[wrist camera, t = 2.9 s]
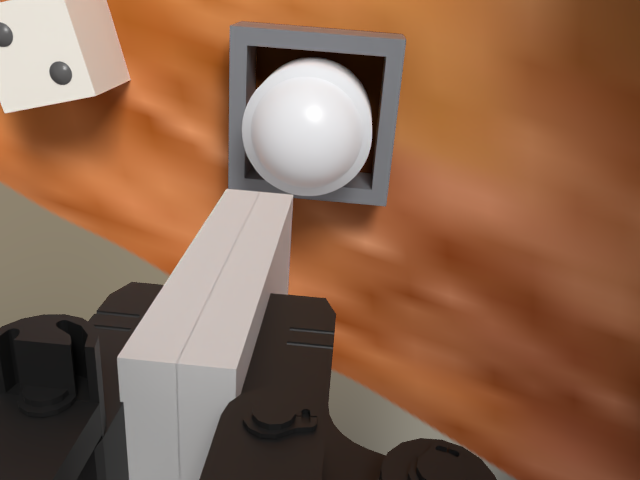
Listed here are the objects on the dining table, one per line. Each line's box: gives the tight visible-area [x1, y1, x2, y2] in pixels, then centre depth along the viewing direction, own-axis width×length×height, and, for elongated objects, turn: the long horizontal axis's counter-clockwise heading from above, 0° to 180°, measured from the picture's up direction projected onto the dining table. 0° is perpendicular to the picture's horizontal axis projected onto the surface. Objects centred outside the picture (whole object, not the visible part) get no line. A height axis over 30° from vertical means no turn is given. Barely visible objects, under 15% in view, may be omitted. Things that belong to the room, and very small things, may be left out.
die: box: [0, 0, 131, 113], centre depth 26 cm, size 4×4×4 cm
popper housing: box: [228, 21, 406, 206], centre depth 27 cm, size 7×7×2 cm
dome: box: [242, 57, 372, 196], centre depth 24 cm, size 5×5×5 cm
